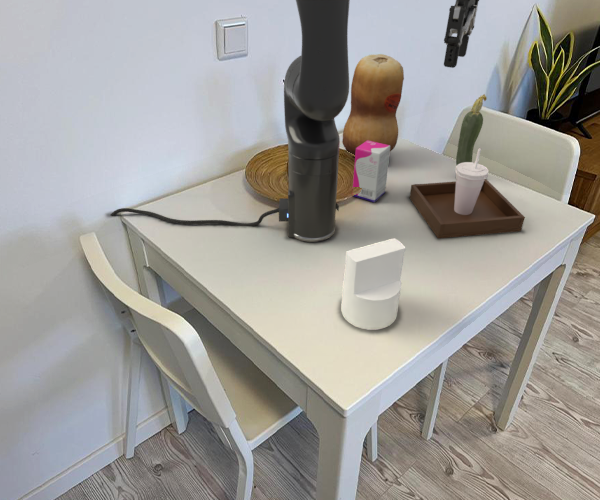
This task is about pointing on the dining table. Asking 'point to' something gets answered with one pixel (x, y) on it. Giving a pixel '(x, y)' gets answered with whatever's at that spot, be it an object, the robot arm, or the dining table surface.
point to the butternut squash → (374, 102)
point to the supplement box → (371, 170)
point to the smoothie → (468, 185)
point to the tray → (483, 220)
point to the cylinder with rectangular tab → (372, 284)
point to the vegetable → (470, 132)
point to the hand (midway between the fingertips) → (454, 61)
